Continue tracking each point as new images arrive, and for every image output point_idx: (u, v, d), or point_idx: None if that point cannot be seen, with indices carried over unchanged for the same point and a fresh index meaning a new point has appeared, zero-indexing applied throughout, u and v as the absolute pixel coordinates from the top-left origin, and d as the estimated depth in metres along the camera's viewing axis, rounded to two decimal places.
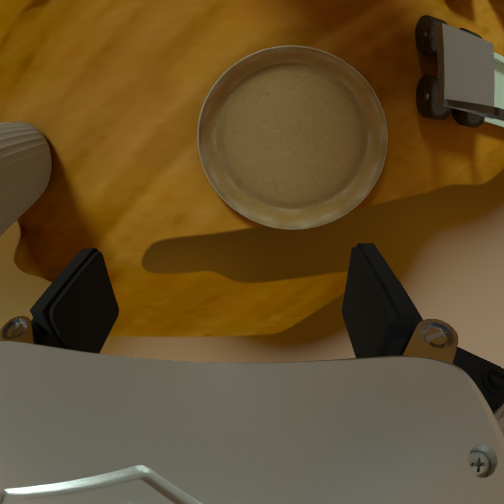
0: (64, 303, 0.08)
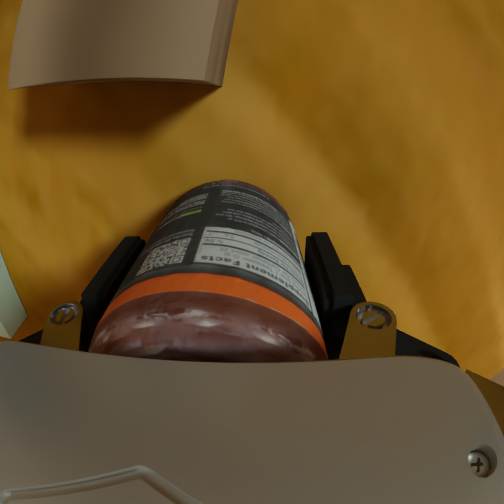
0: (116, 287, 0.08)
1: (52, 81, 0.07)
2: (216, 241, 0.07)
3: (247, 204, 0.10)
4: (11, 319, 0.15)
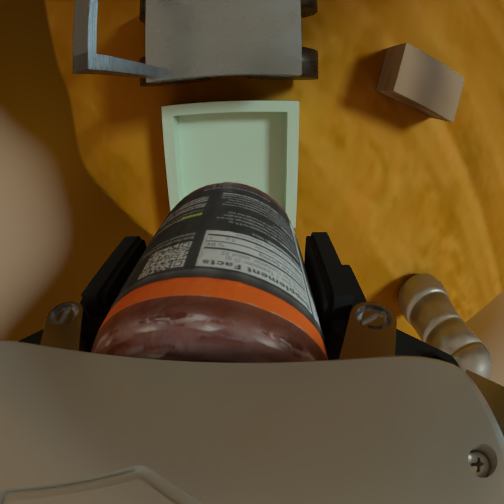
0: (116, 287, 0.08)
1: (413, 100, 0.21)
2: (217, 245, 0.07)
3: (248, 207, 0.10)
4: None
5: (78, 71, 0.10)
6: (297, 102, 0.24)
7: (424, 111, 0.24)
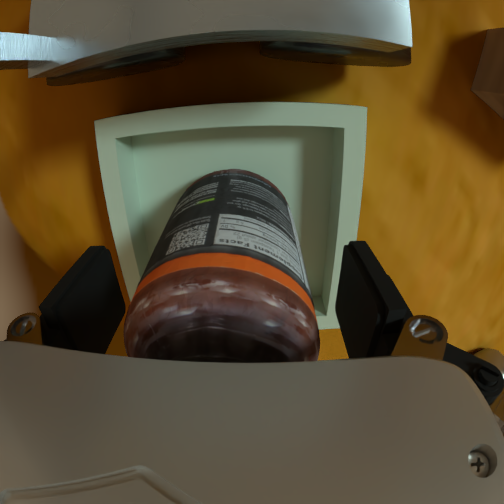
0: (73, 299, 0.08)
1: None
2: (229, 226, 0.09)
3: (252, 193, 0.12)
4: None
5: None
6: (363, 109, 0.11)
7: None
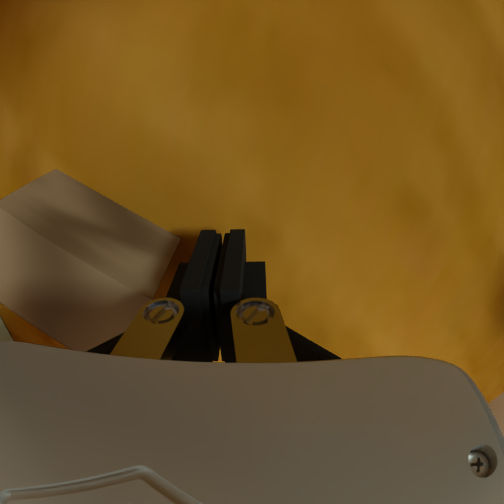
0: (211, 281, 0.09)
1: (25, 319, 0.10)
2: None
3: None
4: None
5: None
6: None
7: None
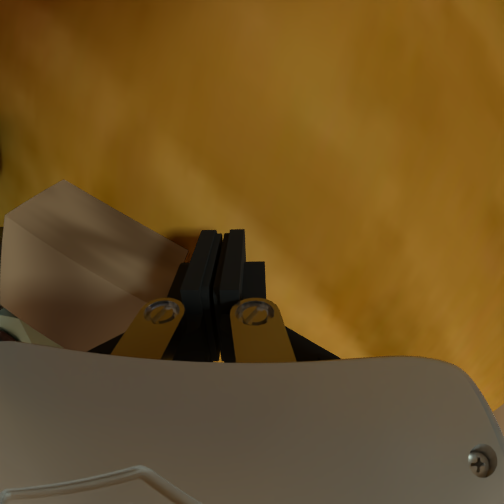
0: (211, 281, 0.09)
1: (34, 328, 0.11)
2: None
3: None
4: None
5: None
6: (18, 319, 0.13)
7: None
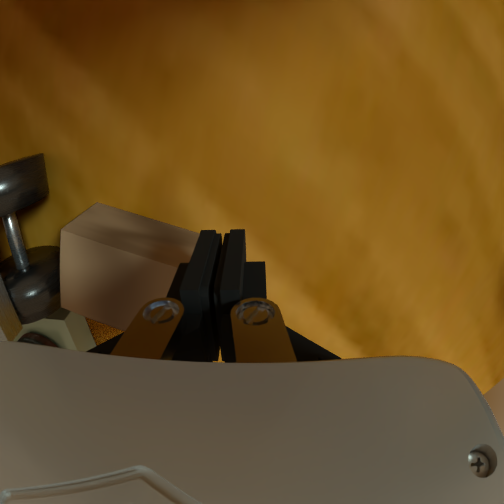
0: (211, 281, 0.09)
1: (92, 318, 0.15)
2: None
3: None
4: None
5: None
6: (63, 321, 0.18)
7: None
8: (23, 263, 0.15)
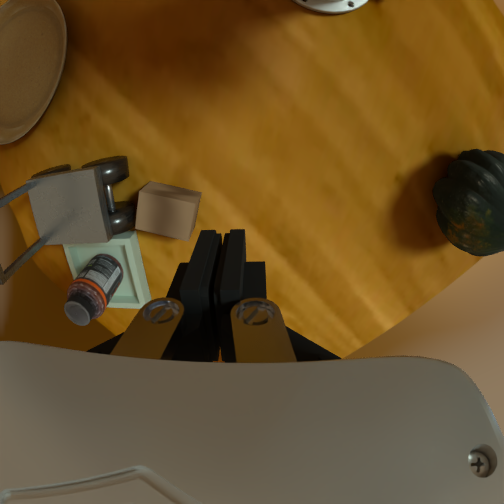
0: (211, 281, 0.09)
1: (151, 232, 0.37)
2: (89, 273, 0.37)
3: (102, 263, 0.40)
4: (147, 300, 0.45)
5: (0, 283, 0.25)
6: (129, 239, 0.39)
7: None
8: (113, 207, 0.36)
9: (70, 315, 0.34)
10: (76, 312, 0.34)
